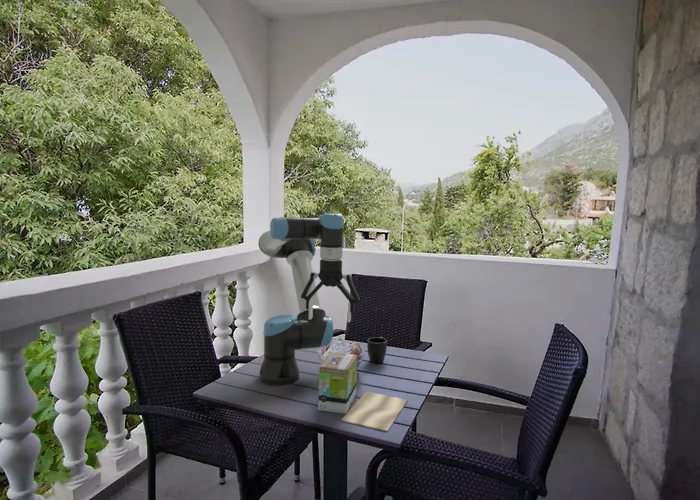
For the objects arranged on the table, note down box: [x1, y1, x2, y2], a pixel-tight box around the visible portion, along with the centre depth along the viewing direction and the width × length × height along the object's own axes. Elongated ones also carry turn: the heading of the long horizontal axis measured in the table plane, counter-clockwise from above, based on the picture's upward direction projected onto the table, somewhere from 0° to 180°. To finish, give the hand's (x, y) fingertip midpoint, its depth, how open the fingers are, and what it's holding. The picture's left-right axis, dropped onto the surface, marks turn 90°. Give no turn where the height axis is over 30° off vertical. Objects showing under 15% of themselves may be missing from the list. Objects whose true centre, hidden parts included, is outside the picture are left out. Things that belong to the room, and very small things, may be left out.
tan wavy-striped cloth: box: [340, 391, 408, 433], centre depth 135 cm, size 15×22×1 cm
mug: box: [366, 336, 388, 365], centre depth 180 cm, size 8×12×10 cm
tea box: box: [317, 352, 358, 415], centre depth 140 cm, size 15×10×15 cm
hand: (329, 320), depth 144 cm, fingers open, 13 cm apart
